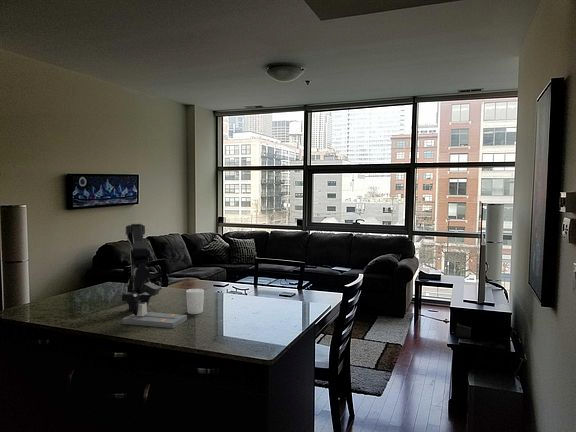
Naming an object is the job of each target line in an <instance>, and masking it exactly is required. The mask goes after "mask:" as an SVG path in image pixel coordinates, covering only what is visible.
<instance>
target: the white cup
mask: <svg viewBox="0 0 576 432" xmlns="http://www.w3.org/2000/svg"><path fill="white" fill-rule="evenodd" d="M185 292H186V295H185V296H186V306H187V308H186V309H187V314H190V315H200V314H202V313H203V311H204V310H203V309H204V302H205V301H204V299H205V297H204V295H205V290H204V289H203V288H191V289H190V288H189V289H187V290H186V291H185Z"/></svg>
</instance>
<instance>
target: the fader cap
mask: <svg viewBox="0 0 576 432" xmlns="http://www.w3.org/2000/svg"><path fill="white" fill-rule="evenodd" d="M147 312H148V307H147V303H145V302H139V303H138V313H137V316H144V315H146V314H147ZM134 316H135V315H134Z"/></svg>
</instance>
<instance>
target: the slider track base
mask: <svg viewBox="0 0 576 432" xmlns="http://www.w3.org/2000/svg"><path fill="white" fill-rule="evenodd" d="M187 320H188V315H187V314H177V313H167V312H166V313H164V312H155V311H154V312H153V311H150V312H149V311H147V314H146V315H144V316H134V314H133V313H131V314H130V315H128V316H125V317H124V318H122V319H121V321H122V324H123V325H133V326H134V325H135V326H145V327H147V326H148V327H158V328H166V329H167V328H168V329H169V328H170V329H174V328H176V327H177V326H179V325H180V324H182V323H184V322H185V321H187Z"/></svg>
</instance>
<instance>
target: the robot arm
mask: <svg viewBox="0 0 576 432" xmlns="http://www.w3.org/2000/svg"><path fill="white" fill-rule="evenodd" d="M125 235H126V240H127V241H128V243H129V244H130V250H129V251H130V252H129V257H130V265H131V266H130V267H131V268H130V269H131V276H130V277H129V279H128V282H127V284H126V291H125V293H122V294H121V297H120V301H121V302H125V303H127V305H128V308H126V311H131V312H132V314H134V315H135V316H137V313H138V303H139V302H145V303H147V308H148V306H149V302H150V299H151V298H152V297H155V296H156V295H159V293H160V291H162V283H161V281H156V282H151V279H150V275H151V272H150V269H149V268H148V265H151V263H152V261H153V257H152V252H151V249H149V247H148V244H147V243H145V241H144V235H146V225H143V224H142V223H132V224H129V225H126V226H125ZM150 282H151V283H150Z"/></svg>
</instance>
